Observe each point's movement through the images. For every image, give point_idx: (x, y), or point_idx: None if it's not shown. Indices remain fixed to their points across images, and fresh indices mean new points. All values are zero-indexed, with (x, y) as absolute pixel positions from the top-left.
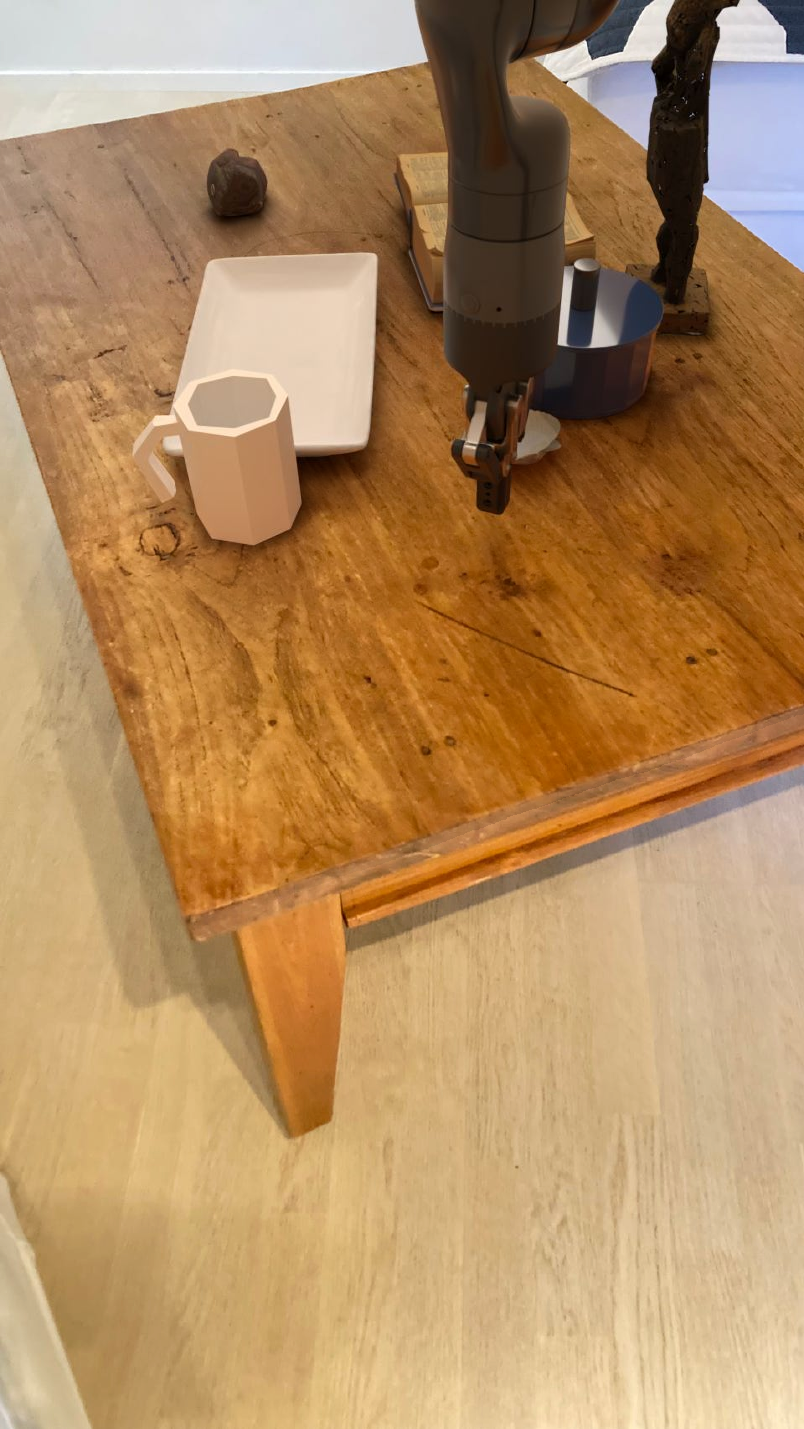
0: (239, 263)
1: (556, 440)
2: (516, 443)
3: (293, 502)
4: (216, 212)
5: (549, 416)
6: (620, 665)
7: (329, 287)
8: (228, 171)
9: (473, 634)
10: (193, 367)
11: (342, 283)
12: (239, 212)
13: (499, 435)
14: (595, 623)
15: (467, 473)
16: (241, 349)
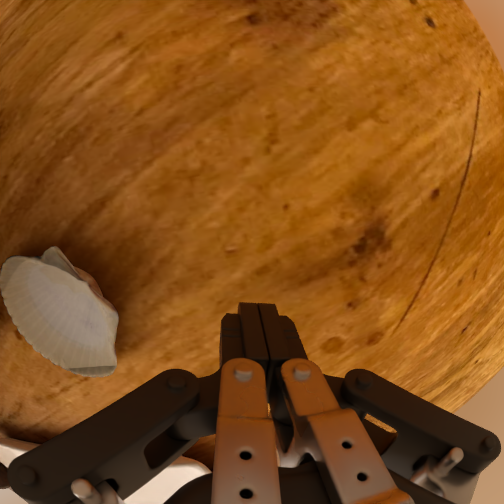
0: None
1: (41, 257)
2: (230, 391)
3: (279, 463)
4: None
5: (2, 277)
6: (456, 96)
7: (11, 452)
8: (1, 488)
9: (436, 265)
10: None
11: (3, 447)
12: (4, 469)
13: (391, 471)
14: (413, 119)
15: (377, 427)
16: None
